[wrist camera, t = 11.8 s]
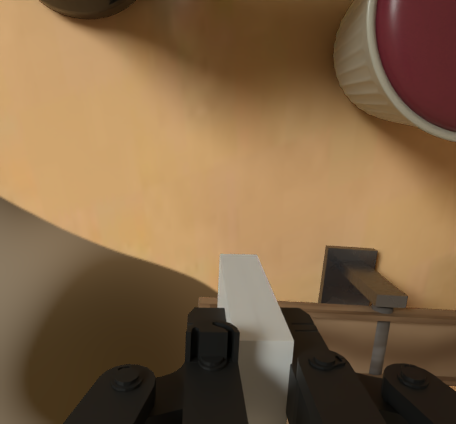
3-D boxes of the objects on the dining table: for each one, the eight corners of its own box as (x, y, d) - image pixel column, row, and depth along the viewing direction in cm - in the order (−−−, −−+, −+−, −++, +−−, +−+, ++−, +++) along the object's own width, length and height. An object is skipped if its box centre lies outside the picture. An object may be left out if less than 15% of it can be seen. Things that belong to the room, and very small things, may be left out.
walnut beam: (199, 290, 40) (199, 317, 34) (544, 309, 43) (597, 336, 37) (193, 366, 41) (192, 403, 36) (527, 378, 44) (575, 414, 39)
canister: (400, 169, 48) (552, 198, 27) (274, 80, 45) (339, 37, 24) (497, 33, 46) (741, -47, 25) (371, -70, 43) (532, -257, 22)
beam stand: (325, 245, 49) (363, 279, 38) (374, 248, 50) (425, 283, 38) (311, 352, 52) (343, 413, 41) (357, 354, 52) (401, 415, 41)
